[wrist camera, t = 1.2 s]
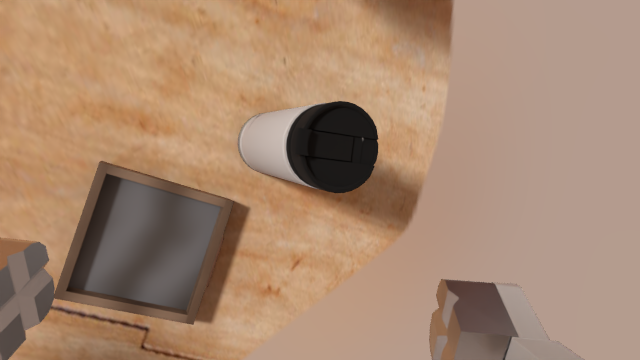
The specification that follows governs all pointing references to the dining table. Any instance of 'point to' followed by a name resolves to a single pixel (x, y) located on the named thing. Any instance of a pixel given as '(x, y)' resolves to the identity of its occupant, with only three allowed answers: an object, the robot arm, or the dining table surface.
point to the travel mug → (313, 145)
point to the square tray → (144, 245)
